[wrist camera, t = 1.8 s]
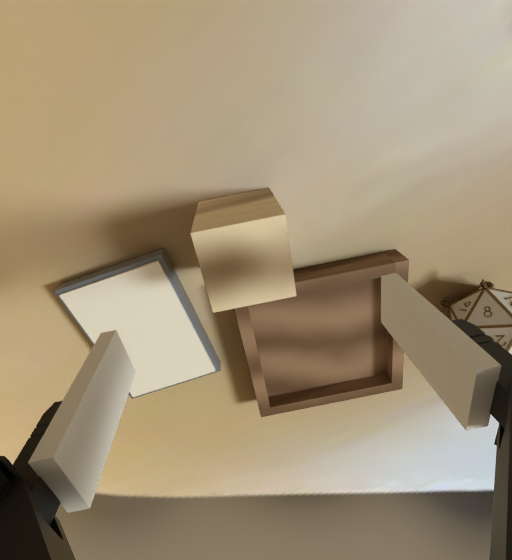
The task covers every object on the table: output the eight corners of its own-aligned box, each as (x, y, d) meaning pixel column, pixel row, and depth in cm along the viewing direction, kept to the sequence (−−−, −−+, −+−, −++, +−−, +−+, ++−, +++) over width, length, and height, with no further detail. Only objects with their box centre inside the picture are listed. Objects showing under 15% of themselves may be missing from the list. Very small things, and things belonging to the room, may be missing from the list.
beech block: (198, 201, 27) (190, 233, 20) (269, 187, 27) (285, 214, 20) (215, 265, 30) (213, 312, 23) (278, 252, 30) (296, 296, 23)
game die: (437, 300, 39) (438, 382, 34) (443, 255, 32) (444, 348, 27) (533, 305, 35) (550, 399, 30) (560, 255, 28) (588, 363, 23)
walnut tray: (230, 282, 31) (231, 295, 29) (395, 249, 31) (408, 259, 29) (258, 399, 38) (261, 417, 36) (391, 372, 38) (402, 388, 36)
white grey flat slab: (60, 283, 29) (51, 293, 28) (163, 248, 29) (160, 255, 27) (135, 388, 36) (131, 400, 34) (220, 361, 35) (220, 372, 34)
